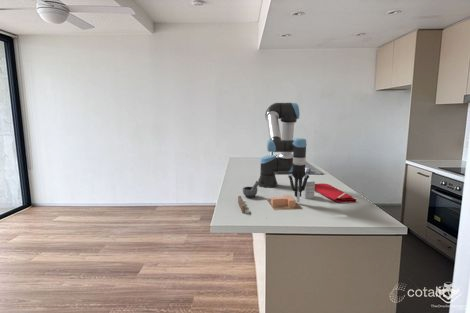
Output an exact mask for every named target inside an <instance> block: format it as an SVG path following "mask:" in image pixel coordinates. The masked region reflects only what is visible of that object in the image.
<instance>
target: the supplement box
mask: <svg viewBox="0 0 470 313" xmlns="http://www.w3.org/2000/svg"><path fill="white" fill-rule="evenodd" d="M303 181H304V178H302V184H303ZM315 184H316V181H315V180H314V179H313V180H312V179H310V178H308V179H307V183H306V186H305V190H304V191H302V192H301V197H300V198H303V199H305V200H308V199H314V198H315Z"/></svg>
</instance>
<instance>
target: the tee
mask: <svg viewBox="0 0 470 313" xmlns="http://www.w3.org/2000/svg"><path fill="white" fill-rule="evenodd" d="M270 200H271V204H272V205H273V206H278V205H288V207H295V205H296V203H297V202H296V198H294V197H293V196H292V195H291V194H286V195H285V194H284V195H283V196H279V197H278V196H276V197H275V196H273V197H271V198H270Z"/></svg>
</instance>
